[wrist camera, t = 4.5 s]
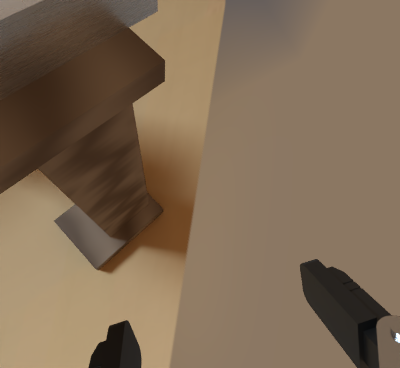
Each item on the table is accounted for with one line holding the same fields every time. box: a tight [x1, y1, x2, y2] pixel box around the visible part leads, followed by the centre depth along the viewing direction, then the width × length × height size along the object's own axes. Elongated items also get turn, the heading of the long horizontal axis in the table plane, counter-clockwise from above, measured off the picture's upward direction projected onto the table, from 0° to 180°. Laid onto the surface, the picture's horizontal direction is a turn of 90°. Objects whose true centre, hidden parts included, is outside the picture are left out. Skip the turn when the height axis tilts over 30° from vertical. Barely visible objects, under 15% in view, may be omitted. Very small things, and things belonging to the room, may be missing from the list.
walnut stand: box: [0, 28, 165, 270], centre depth 26 cm, size 12×9×30 cm
